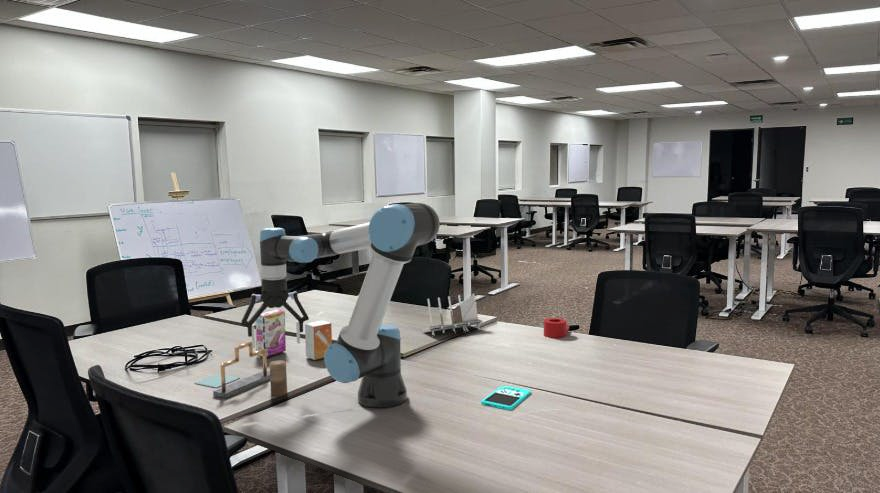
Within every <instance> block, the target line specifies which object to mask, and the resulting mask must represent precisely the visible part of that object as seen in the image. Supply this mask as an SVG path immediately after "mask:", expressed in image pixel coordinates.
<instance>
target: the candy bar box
mask: <svg viewBox="0 0 880 493" xmlns="http://www.w3.org/2000/svg"><path fill="white" fill-rule="evenodd" d="M254 323H255V349H256V350H255V352H256V351H259V350H262V349H266V358H268V357H269V358H270V357H272V356H275V355H277V354H280V353H283V352H285V351H287V349H286V347H287V346H286V311H285V310H283V309H282V310H281V309H273V310H269V311H266V312H262V314H261V315H260V316H259V317H258V319H257V320H256V321H255V322H254ZM255 357H260V358H262V359H263V354H262V353H261V354H259V355H256V356H255Z"/></svg>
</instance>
